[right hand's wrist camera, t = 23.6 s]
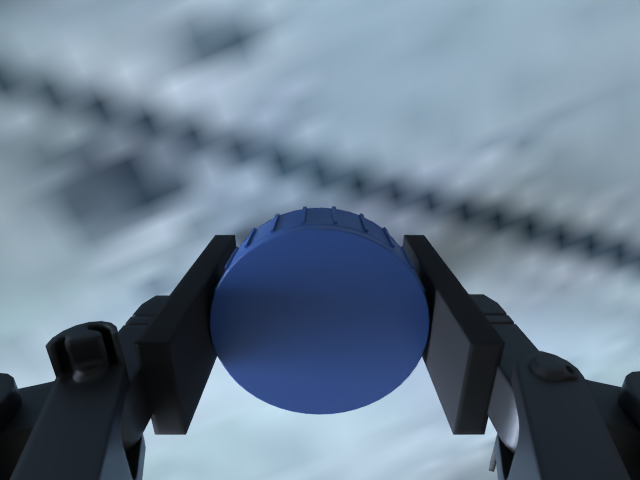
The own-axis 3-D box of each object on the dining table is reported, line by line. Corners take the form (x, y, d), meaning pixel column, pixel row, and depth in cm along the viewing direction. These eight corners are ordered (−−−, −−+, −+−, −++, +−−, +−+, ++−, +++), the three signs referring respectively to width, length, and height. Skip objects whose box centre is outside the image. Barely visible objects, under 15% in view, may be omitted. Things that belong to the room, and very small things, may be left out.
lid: (262, 171, 11) (250, 186, 9) (452, 250, 12) (476, 280, 10) (200, 337, 13) (180, 378, 11) (364, 393, 14) (371, 439, 12)
